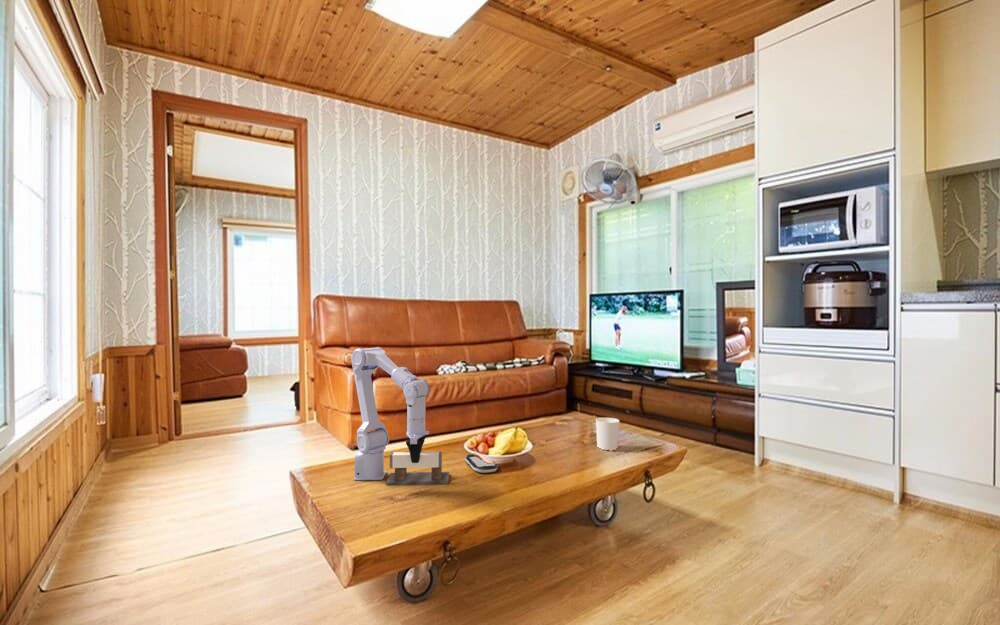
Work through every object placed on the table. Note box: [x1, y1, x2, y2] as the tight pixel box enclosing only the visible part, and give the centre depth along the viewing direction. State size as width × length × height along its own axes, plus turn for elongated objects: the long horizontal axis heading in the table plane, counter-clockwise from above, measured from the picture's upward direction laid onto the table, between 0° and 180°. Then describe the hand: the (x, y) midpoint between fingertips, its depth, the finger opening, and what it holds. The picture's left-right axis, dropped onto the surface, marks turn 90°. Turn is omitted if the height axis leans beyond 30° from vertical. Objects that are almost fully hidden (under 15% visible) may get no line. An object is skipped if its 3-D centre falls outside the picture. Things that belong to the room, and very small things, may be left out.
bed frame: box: [385, 465, 450, 486], centre depth 159 cm, size 20×9×6 cm, turn 94°
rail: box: [389, 451, 443, 469], centre depth 150 cm, size 16×3×4 cm, turn 94°
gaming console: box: [464, 453, 499, 475], centre depth 175 cm, size 19×9×3 cm, turn 19°
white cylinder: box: [595, 416, 621, 450], centre depth 198 cm, size 10×10×12 cm
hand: (415, 460), depth 150 cm, fingers closed on rail, 3 cm apart
